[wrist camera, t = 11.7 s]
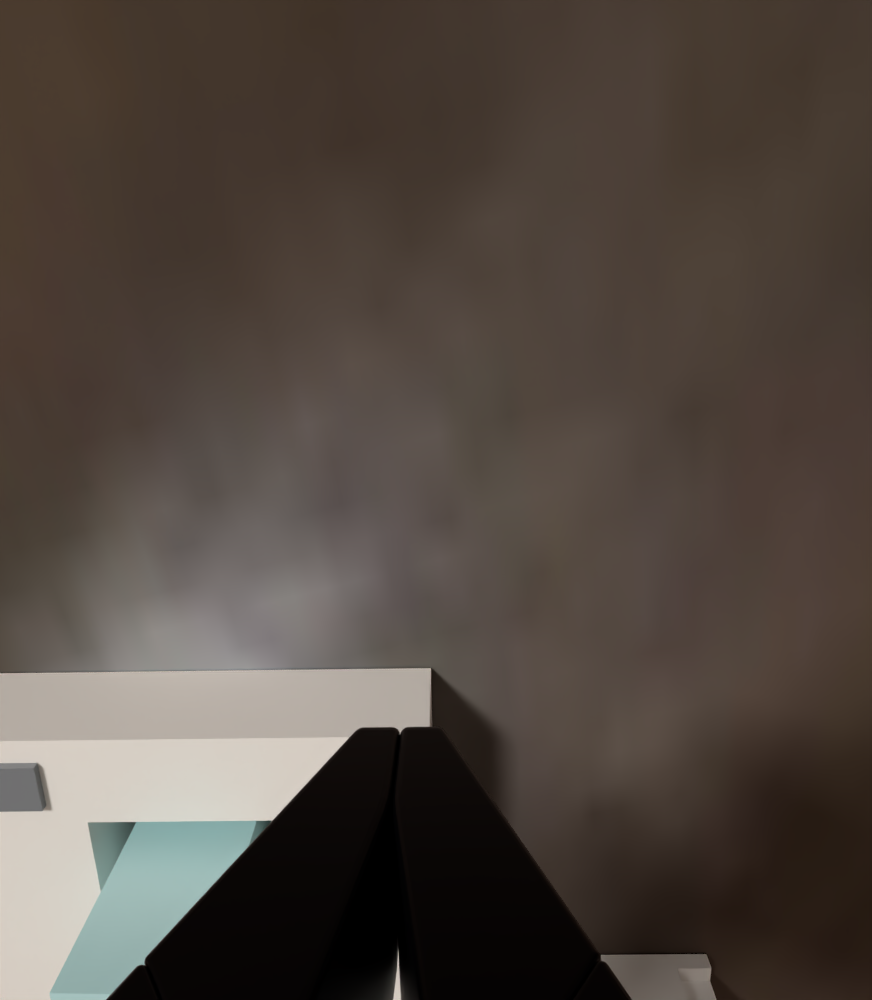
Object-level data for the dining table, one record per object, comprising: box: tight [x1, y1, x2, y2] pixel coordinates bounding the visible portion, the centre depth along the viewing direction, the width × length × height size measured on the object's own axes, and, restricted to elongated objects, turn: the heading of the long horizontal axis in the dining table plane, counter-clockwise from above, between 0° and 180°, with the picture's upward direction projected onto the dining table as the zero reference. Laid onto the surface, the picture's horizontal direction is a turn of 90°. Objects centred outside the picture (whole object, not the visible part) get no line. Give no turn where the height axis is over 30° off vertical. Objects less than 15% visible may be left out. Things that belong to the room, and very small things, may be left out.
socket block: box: [0, 668, 432, 1000], centre depth 22 cm, size 12×10×3 cm
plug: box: [49, 821, 271, 1000], centre depth 19 cm, size 3×4×8 cm
